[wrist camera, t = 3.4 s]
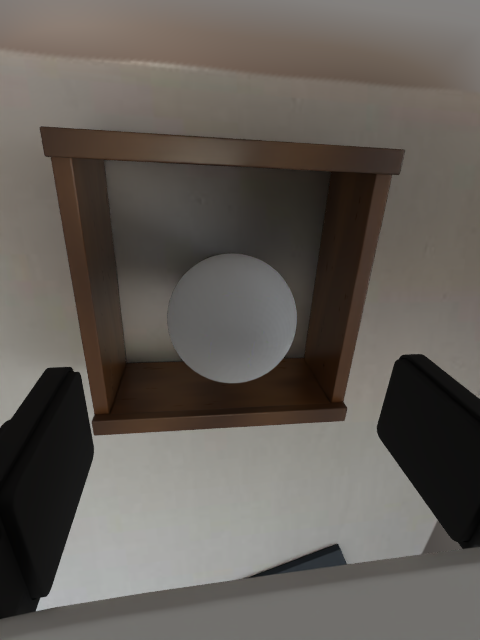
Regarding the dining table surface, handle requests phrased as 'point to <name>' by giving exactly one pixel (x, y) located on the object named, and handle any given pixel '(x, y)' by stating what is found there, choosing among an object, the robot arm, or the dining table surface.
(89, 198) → the brown wooden square frame
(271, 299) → the light bulb
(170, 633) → the robot arm
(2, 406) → the dining table surface
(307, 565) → the mat
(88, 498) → the dining table surface
